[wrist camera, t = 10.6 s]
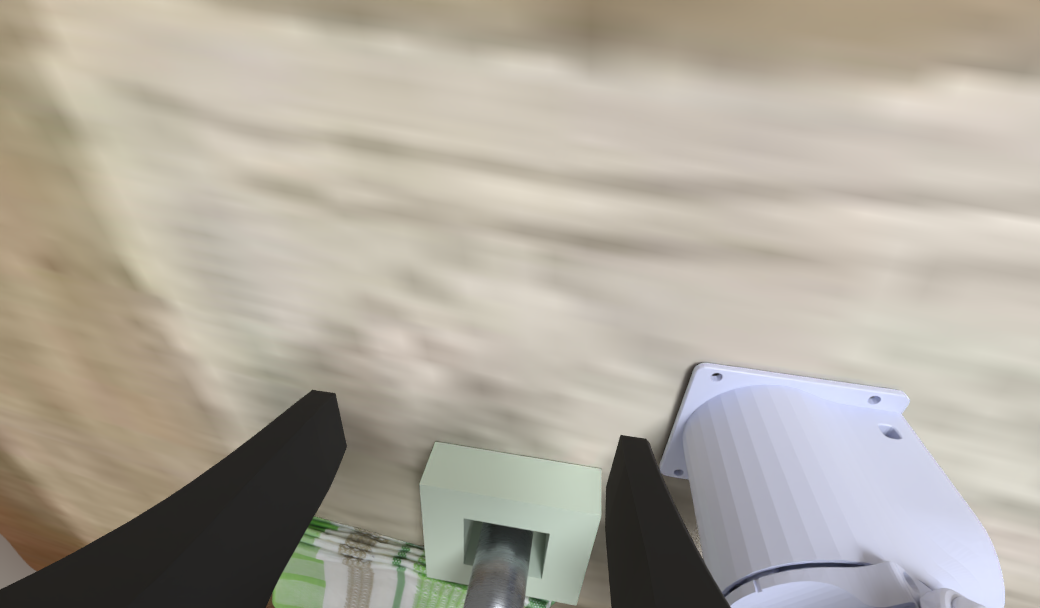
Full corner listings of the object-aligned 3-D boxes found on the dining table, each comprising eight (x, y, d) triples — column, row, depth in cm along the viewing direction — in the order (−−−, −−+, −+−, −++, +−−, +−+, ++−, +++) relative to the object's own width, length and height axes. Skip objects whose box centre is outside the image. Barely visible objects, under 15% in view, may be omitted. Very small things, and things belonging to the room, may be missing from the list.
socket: (601, 468, 27) (601, 515, 25) (578, 559, 33) (576, 605, 30) (435, 441, 28) (419, 484, 26) (440, 534, 34) (427, 577, 31)
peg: (529, 485, 29) (504, 652, 22) (541, 517, 31) (523, 682, 23) (481, 488, 30) (442, 649, 22) (496, 518, 32) (464, 678, 24)
